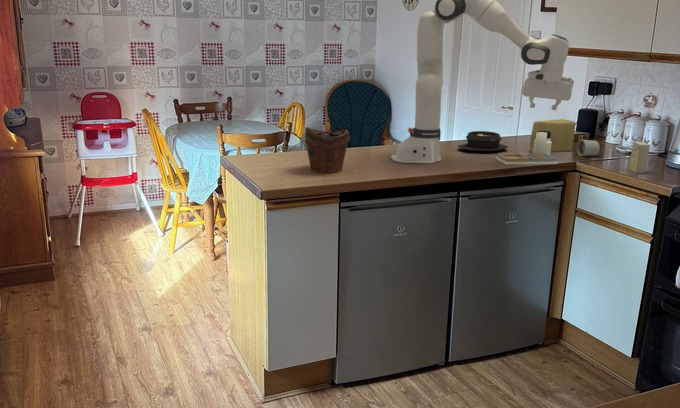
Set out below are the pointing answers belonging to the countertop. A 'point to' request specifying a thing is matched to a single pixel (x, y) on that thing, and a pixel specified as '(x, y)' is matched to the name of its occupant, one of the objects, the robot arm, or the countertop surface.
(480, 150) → the casserole
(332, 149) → the wooden bucket
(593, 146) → the ceramic mug
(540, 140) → the sleeve
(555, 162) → the seat plate
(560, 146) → the cheese
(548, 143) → the medicine bottle
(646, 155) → the skincare box
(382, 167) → the countertop surface
